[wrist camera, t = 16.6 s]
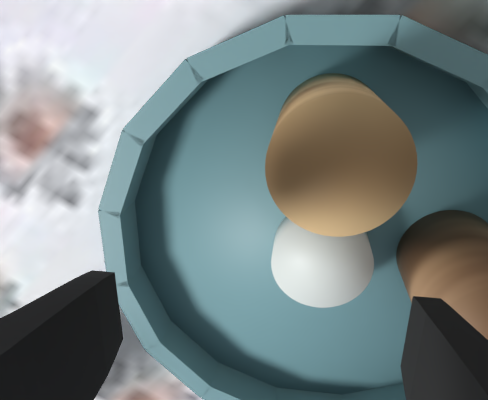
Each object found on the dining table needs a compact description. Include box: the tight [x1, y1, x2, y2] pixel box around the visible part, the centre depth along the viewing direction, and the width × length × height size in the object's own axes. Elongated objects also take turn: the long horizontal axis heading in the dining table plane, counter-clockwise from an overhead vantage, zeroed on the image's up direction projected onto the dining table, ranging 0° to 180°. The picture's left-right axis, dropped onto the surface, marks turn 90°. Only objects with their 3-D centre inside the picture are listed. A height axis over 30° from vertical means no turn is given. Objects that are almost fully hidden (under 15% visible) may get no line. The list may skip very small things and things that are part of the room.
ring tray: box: [98, 15, 488, 400], centre depth 20 cm, size 20×20×2 cm
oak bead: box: [265, 73, 418, 237], centre depth 15 cm, size 4×4×6 cm
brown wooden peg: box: [396, 210, 488, 340], centre depth 17 cm, size 4×4×6 cm
